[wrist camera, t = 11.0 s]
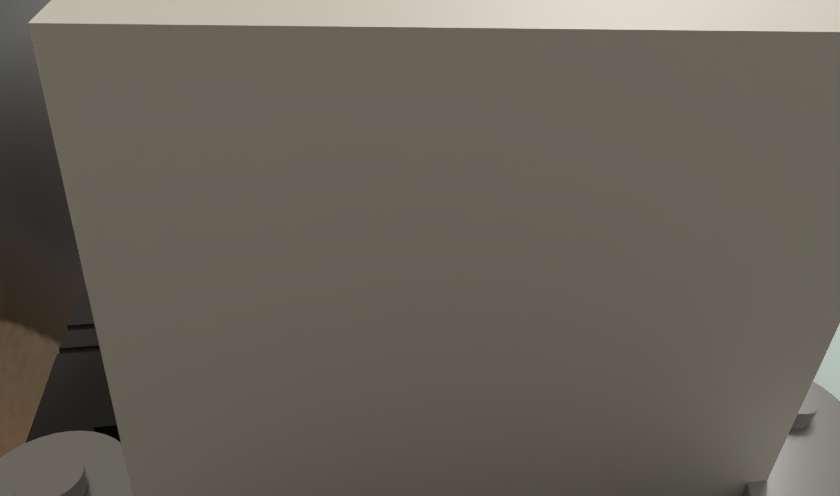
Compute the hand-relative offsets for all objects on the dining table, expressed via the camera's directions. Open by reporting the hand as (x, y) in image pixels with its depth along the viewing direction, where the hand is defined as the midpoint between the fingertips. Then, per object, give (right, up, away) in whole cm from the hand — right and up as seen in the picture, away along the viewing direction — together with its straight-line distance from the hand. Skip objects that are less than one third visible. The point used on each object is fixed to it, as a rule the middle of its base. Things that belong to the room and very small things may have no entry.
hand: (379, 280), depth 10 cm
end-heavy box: (0, -7, +2) cm, 7 cm away
